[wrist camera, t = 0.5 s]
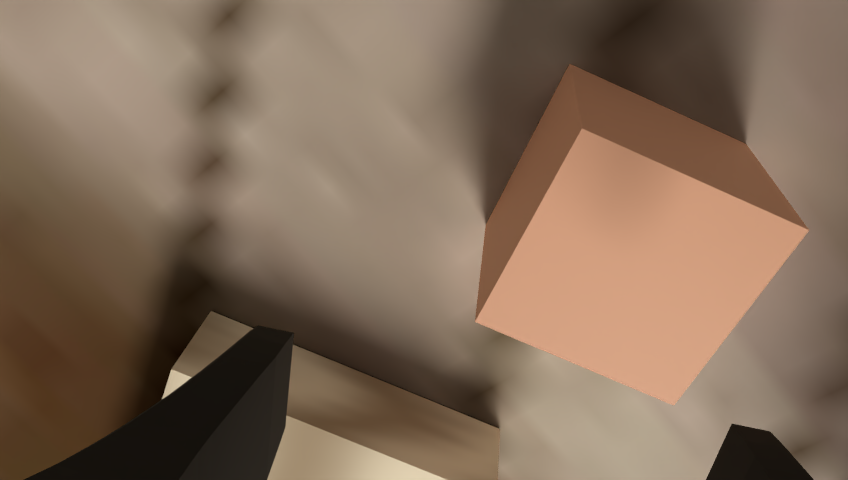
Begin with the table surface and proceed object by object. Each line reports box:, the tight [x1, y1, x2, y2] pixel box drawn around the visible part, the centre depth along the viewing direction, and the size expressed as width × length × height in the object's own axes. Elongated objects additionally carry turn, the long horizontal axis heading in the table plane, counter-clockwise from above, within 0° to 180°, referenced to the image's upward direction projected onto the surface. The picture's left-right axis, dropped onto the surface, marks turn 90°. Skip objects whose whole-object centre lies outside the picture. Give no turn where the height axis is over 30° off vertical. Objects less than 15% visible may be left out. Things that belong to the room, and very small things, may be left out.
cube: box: [475, 64, 809, 405], centre depth 18 cm, size 5×5×5 cm
